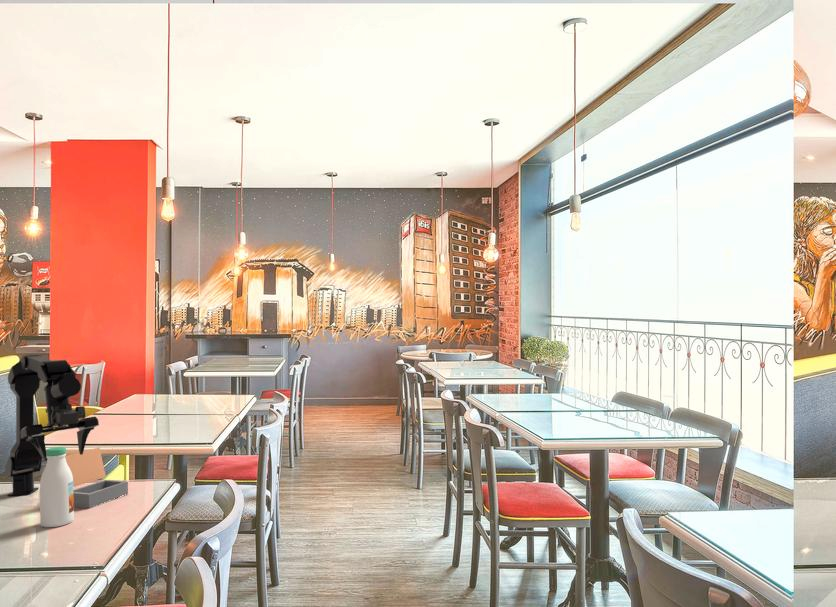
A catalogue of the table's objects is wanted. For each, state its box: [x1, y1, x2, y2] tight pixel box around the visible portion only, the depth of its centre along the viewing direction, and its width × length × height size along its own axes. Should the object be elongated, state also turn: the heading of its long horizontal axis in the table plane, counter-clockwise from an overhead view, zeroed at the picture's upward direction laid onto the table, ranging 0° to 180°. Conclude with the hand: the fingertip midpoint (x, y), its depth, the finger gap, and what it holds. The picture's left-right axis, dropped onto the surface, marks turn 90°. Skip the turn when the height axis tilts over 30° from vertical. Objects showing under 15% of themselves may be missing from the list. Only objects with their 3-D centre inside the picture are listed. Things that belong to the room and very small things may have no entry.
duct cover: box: [65, 446, 107, 488], centre depth 185 cm, size 10×14×1 cm
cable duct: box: [73, 479, 129, 509], centre depth 182 cm, size 9×14×4 cm, turn 160°
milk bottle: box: [39, 446, 75, 528], centre depth 162 cm, size 8×8×20 cm
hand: (64, 457), depth 171 cm, fingers open, 9 cm apart
